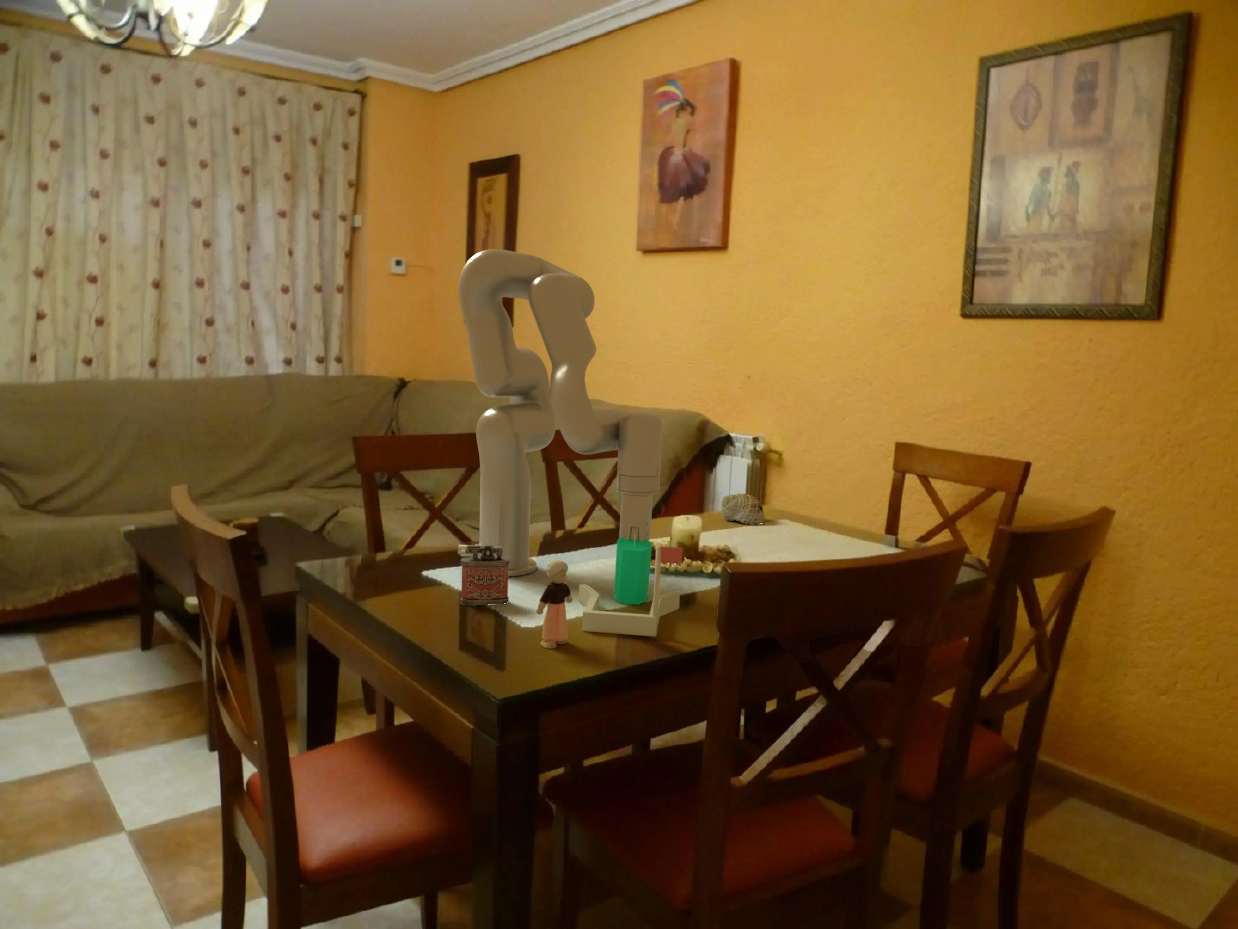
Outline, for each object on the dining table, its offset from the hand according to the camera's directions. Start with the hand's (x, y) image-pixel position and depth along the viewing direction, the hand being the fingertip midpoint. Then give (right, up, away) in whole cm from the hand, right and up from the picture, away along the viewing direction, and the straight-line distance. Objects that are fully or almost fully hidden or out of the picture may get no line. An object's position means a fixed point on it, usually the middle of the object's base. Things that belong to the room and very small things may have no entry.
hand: (634, 585), depth 161 cm
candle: (-1, -1, -4) cm, 4 cm away
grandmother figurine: (-12, -5, -27) cm, 30 cm away
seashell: (+28, +7, +68) cm, 74 cm away
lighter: (-25, -2, -8) cm, 27 cm away
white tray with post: (-2, -3, -14) cm, 14 cm away
